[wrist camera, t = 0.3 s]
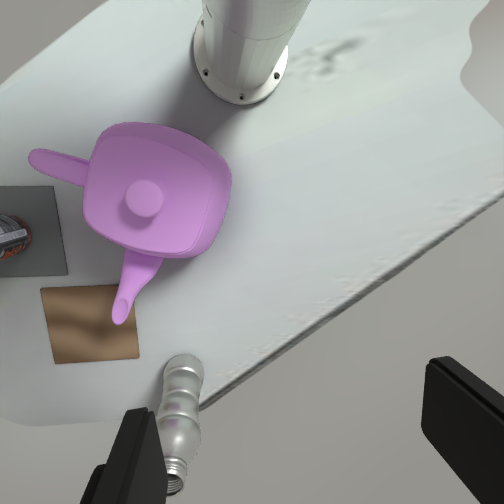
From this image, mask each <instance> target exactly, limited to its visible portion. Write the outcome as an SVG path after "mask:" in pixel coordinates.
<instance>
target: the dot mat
mask: <svg viewBox="0 0 504 504" xmlns="http://www.w3.org/2000/svg"><path fill="white" fill-rule="evenodd" d="M0 213H6V214H12V215H15V216H17V217H19V218H20V219H22V220H23V221H24V222H25V223H26V224H27V226H28V227H29V229H30V233H31V241H30V244H29V246H28V247H27V248H26V249H25V250H24V251H22V252H20V253H18V254H16V255H13V256H11V257H8V258H6V259H3V260H0V277H24V276H52V275H68V270H67V264H66V258H65V253H64V247H63V241H62V235H61V229H60V223H59V217H58V212H57V206H56V200H55V194H54V188H53V186H0Z"/></svg>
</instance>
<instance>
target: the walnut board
mask: <svg viewBox="0 0 504 504" xmlns="http://www.w3.org/2000/svg"><path fill="white" fill-rule="evenodd" d="M118 287H119V285H98V286H74V287H49V288H41V289H40V291H41V296H42V301H43V306H44V311H45V316H46V321H47V326H48V331H49V336H50V341H51V346H52V351H53V356H54V361H55V364H63V363H77V362H90V361H104V360H118V359H132V358H139V356H140V355H139V346H138V337H137V328H136V319H135V310H134V302H133V304H132V307H131V309H130V312H129V314H128V317H127V318H126V320H125V321H124V322H123V323H122V324H120V325H116V324H114V322H113V320H112V307H113V303H114V300H115V297H116V294H117V291H118Z"/></svg>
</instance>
